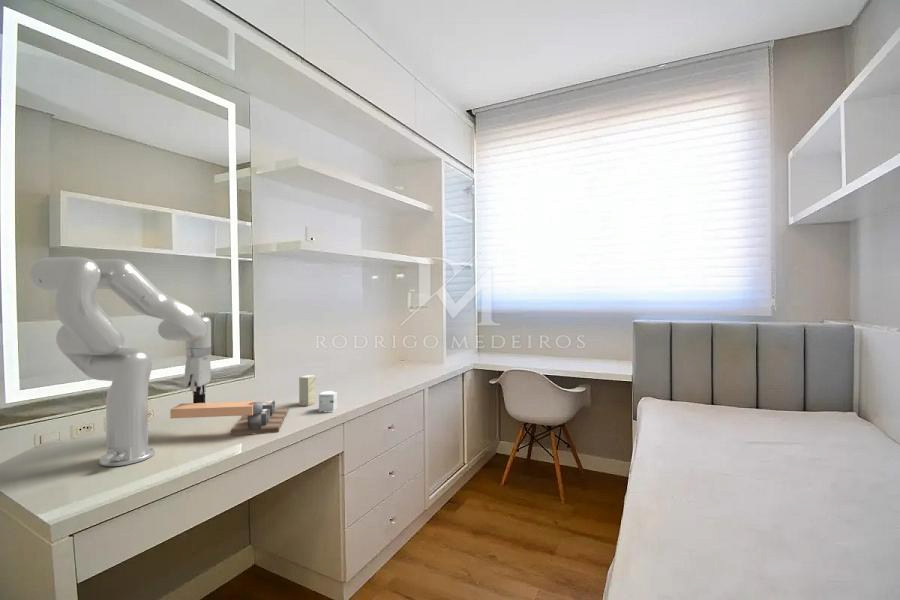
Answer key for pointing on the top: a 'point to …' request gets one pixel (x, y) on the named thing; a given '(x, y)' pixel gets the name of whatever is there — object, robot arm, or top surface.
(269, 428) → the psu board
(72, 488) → the top surface
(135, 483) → the top surface
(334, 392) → the skincare box
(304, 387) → the skincare box
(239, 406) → the swing arm
